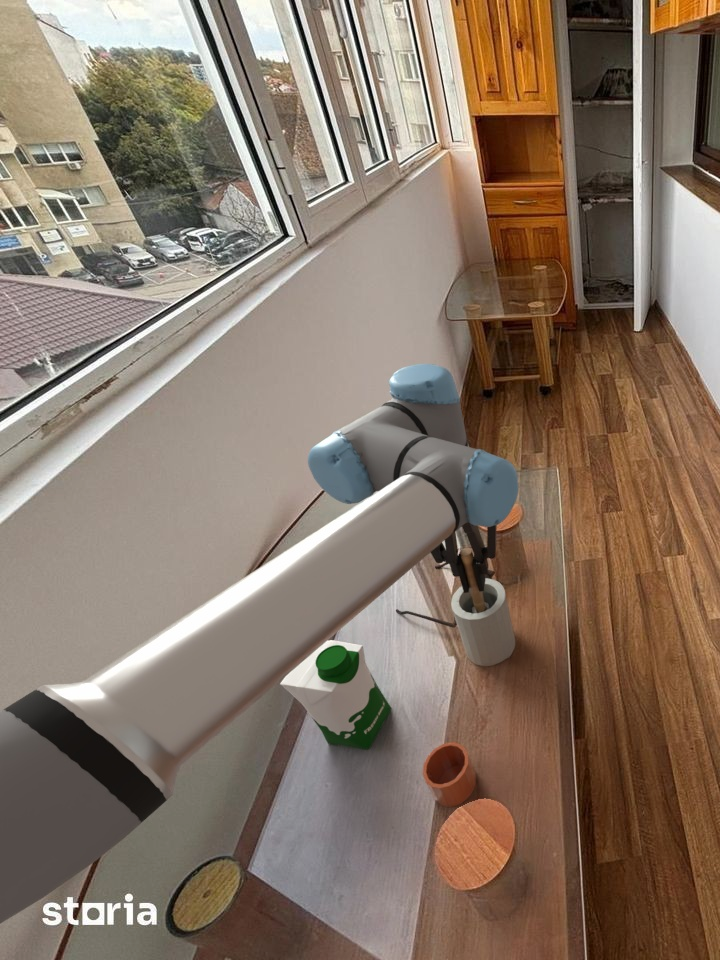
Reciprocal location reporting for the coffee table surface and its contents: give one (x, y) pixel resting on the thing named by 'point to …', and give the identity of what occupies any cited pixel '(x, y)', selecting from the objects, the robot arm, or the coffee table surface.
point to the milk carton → (340, 694)
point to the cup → (485, 625)
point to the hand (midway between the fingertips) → (474, 585)
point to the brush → (473, 582)
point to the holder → (449, 774)
